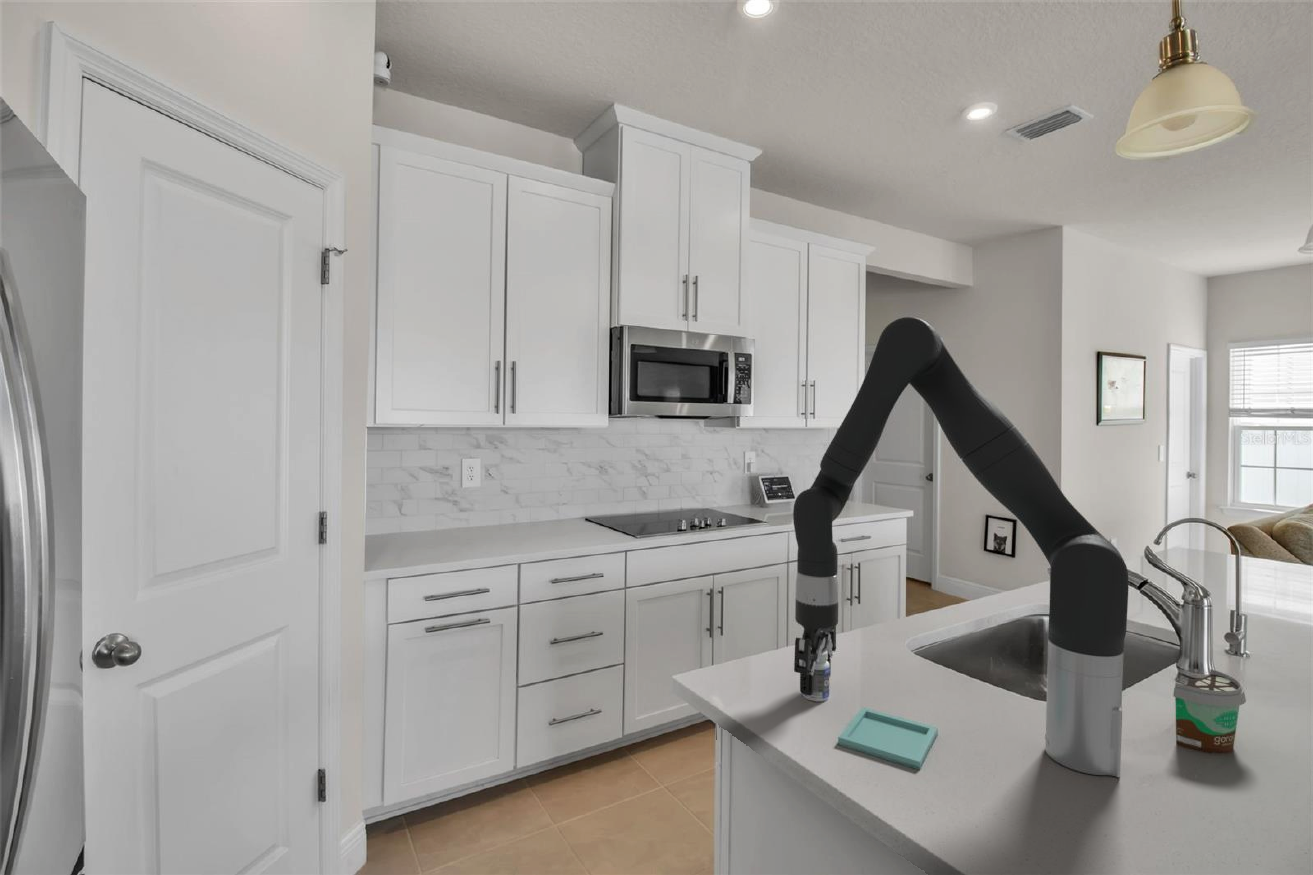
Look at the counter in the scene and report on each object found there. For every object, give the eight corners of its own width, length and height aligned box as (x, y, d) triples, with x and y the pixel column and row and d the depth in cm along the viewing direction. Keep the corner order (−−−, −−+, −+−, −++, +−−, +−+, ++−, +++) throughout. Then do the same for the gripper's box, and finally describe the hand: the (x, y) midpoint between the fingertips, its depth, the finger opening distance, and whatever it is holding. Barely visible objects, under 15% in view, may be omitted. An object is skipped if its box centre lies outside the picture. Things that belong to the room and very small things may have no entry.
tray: (937, 735, 101) (937, 727, 101) (919, 770, 91) (920, 761, 91) (862, 714, 108) (862, 707, 108) (838, 744, 98) (838, 737, 98)
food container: (1221, 766, 92) (1223, 699, 92) (1171, 746, 98) (1173, 683, 97) (1258, 746, 98) (1261, 682, 97) (1209, 728, 103) (1212, 668, 103)
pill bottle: (830, 703, 112) (830, 656, 112) (802, 700, 113) (803, 654, 113) (828, 691, 117) (828, 646, 116) (802, 689, 118) (802, 644, 117)
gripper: (822, 611, 106) (821, 706, 107) (850, 591, 118) (849, 676, 118) (781, 603, 110) (780, 694, 111) (811, 584, 122) (810, 667, 123)
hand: (815, 685), depth 115 cm, fingers open, 8 cm apart
